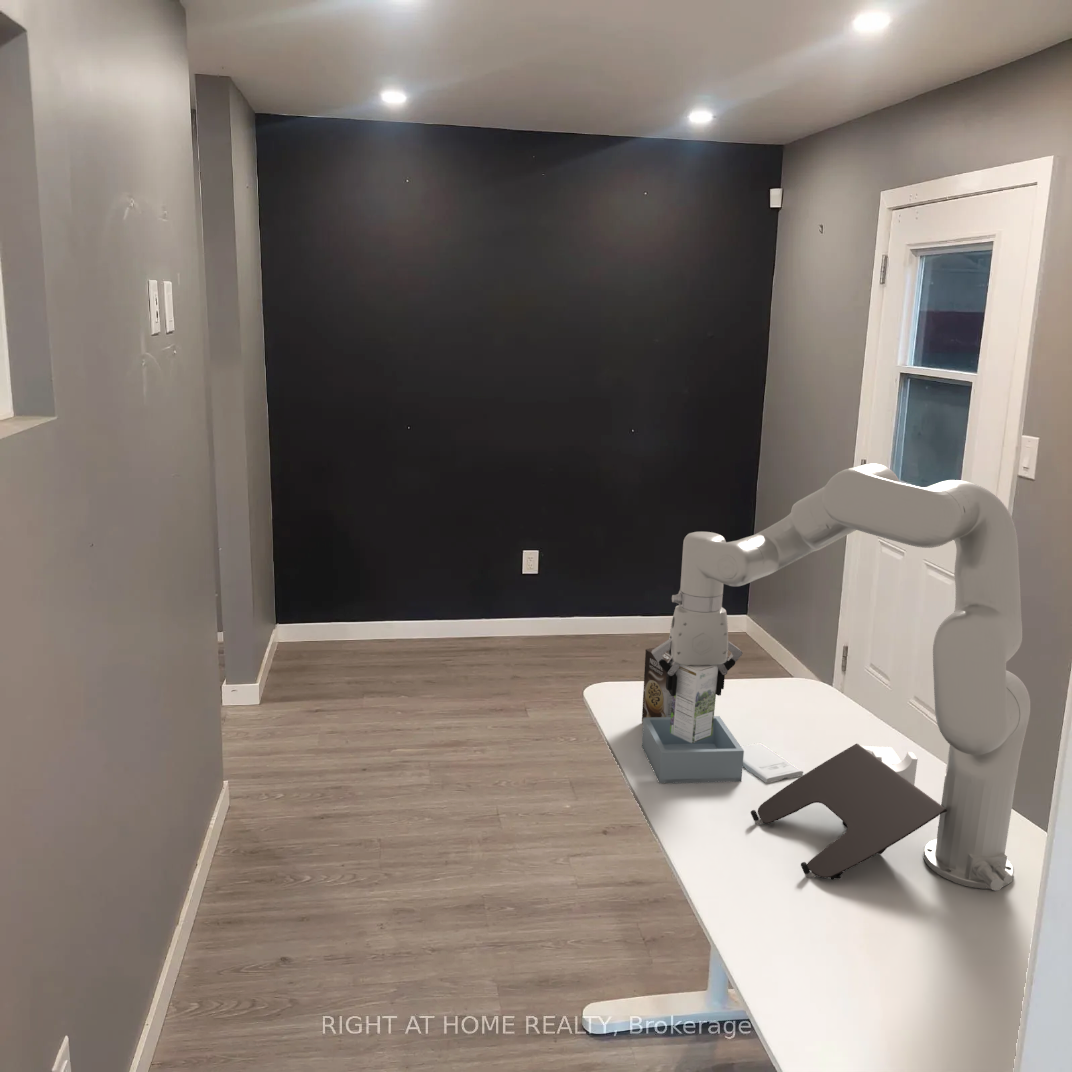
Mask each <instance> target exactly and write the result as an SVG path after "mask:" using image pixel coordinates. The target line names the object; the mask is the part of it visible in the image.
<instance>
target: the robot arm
mask: <svg viewBox="0 0 1072 1072" xmlns="http://www.w3.org/2000/svg"><path fill="white" fill-rule="evenodd" d="M1016 529H1017V528H1016V526H1015V522H1014V520H1013V517H1012V515H1011V513H1010V511H1009V509H1008V508H1007V506H1006V505H1005V504H1004V502H1003V501H1002V500H1001V499H1000V498H999V497H998V496H997V495H995V494H994V493H993V492H992V491H990V490H988V489H987V488H985V487H983V486H981V485H979V484H976V483H973V482H970V481H966V480H959V479H956V480H955V479H948V480H943V481H939V482H937V483H934V484H930V485H928V486H925V487H921V486H916V485H912V484H907V483H902V482H900V479H899V478H898V476H897V475H896V472H894V471H893V470H892V469H890V468H889V467H887V466H886V465H883V464H879V463H865V464H861V465H857V466H853V467H849V468H845V469H843V470H840V471H839V472H837V473H836V474H834V475H833V476H831V478H830V479H829V480H828V481H827V483H826V485H824V486H823V487H821V488H819V489H818V490H816V491H814V492H812V493H810V494H808V495H807V496H804V497H803V498H801V499H799V500H797V501H796V502H794V503H793V504H792V507H791V511H790V513H789V514H788V515H786V516H785V517H784V518H782V519H780V520H779V521H777V522H775V523H773V524H772V525H770V526H768V527H766V528H765V529H762V530H760V531H758V532H757V533H755V534H753V535H750V536H746V537H743V538H740V539H737V540H732V541H726V539H725V537H724V536H723V535H721V534H719V533H716V532H713V531H711V532H710V531H694V532H689V533H687V535H686V536H685V537H684V539H683V544H682V557H681V558H682V560H681V571H680V572H681V574H680V575H681V576H680V588H679V591H678V593H677V594H672V595H671V602H672V603H676V604H678V605H676V606H675V607H674V608H675V609H674V610H673V611H674V612H673V615H672V619H671V624H670V625H671V626H670V630H669V636H668V637H669V638H668V639H667V640H665V641H664V642H662V643H660V644H659V645H658V646H656V647H654V648H655V649H653V650H652V654H653V656H654V657H655V659H656V660H657V662H658V663H659V665H660V666H661V667H662V668H663V669H664V670H665V671H666V672H667V673H666V689H667V690H668V691H669V693H670V694H671V696H675V695H676V686H677V676H676V674H675V672H676V671H677V669H678V668H679V666H680V665H717V667H718V676H717V688H716V696H721V695H722V690H724V688H725V679H726V678H725V675H727V674H728V672H729V670H731V668H733V667H734V666H735V664H736V663H737V662H738V660H739V659H740V658H741V657H742V655H743V651H742V650H741V649H740V648H739V647H737V646H736V645H735V644H733V643H732V642H731V641H729V625H728V624H729V623H728V614H727V610H726V609H725V608H724V607H723V597H724V596H723V595H724V585H726V586H729V587H741V586H745V585H747V584H749V583H752V582H754V581H757V580H759V579H762V578H765V577H767V576H769V575H772V574H773V573H775V572H778V571H779V570H781V569H783V568H786V567H788V566H789V565H790V564H793V563H795V562H796V561H798V560H800V559H802V558H804V557H806V556H807V555H809V554H811V553H813V552H818V551H820V550H822V549H824V548H825V547H827V546H829V545H831V544H833V543H835V542H837V541H838V540H840V539H842V538H844V537H846V536H847V535H849V534H851V533H853V532H855V531H859V532H861V533H862V532H863V533H865V534H870V535H873V536H876V537H878V538H879V537H880V538H883V539H886V540H891V541H894V542H897V543H900V544H904V545H908V546H911V547H912V546H913V547H916V548H924V549H930V548H931V549H933V548H937V547H940V546H944V545H947V544H948V543H950V542H953V541H954V544H955V548H956V553H955V562H954V577H953V578H954V584H955V600H954V601H955V604H954V611H953V612H952V613H951V614H950V615H949V616H947V617H946V618H945V619H944V620H943V621H942V622H941V623H940V625H939V626H938V628H937V630H936V632H935V636H934V640H933V645H932V667H933V670H932V671H933V695H934V697H933V698H934V712H935V713H934V714H935V715H934V716H935V719H936V724H937V727H938V730H939V733H940V734H941V735H942V737H943V738H944V740H945V741H946V742H947V743H948V744H949V748H948V754H947V761H946V767H945V774H944V782H943V787H942V788H943V790H942V795H941V796H942V797H941V804H940V805H941V806H943V807H944V808H945V809H947V812H944V813H942V814H940V815H939V818H938V819H939V820H938V825H937V827H938V828H937V834H936V839H933V840H930V841H928V843H926V845H925V846H924V849H923V859H924V862H925V863H926V865H927V866H928V867H929V868H930V869H931V870H932V871H933V872H935V873H936V874H938V875H939V876H940V877H943V878H944V879H946V880H949V881H951V882H953V883H956V884H959V885H961V886H965V887H969V888H974V889H975V888H976V889H980V890H981V889H983V890H989V889H990V890H992V891H999V890H1001V889H1002V888H1003V887H1006V886H1007V885H1009V884H1010V883H1012V882H1013V879H1014V873H1015V869H1014V866H1013V864H1012V862H1011V861H1010V860H1009V859H1008V856H1007V854H1006V848H1007V841H1008V835H1009V829H1010V821H1011V816H1012V809H1013V803H1014V798H1015V797H1014V796H1015V789H1016V782H1017V778H1018V771H1019V764H1020V759H1021V754H1022V750H1023V746H1024V740H1025V737H1026V732H1027V729H1028V725H1029V721H1030V714H1031V698H1030V693H1029V691H1028V689H1027V687H1026V685H1025V684H1024V682H1023V681H1022V680H1021V678H1019V676H1017V675H1016V674H1014V673H1012V672H1010V671H1009V670H1007V662H1008V661H1010V660H1011V658H1013V656H1014V655H1015V654H1016V653H1017V652H1018V650H1019V649H1020V647H1021V645H1022V642H1023V623H1022V622H1023V620H1022V603H1021V600H1022V598H1021V582H1020V581H1021V579H1020V563H1019V562H1020V561H1019V541H1018V533H1017V530H1016ZM666 651H668V653H669V655H670V656H671V658H670V659H669V661H668V662H666V661H665V660H664V659H663V657H662V654H663V653H665V652H666ZM729 652H730V655H729Z"/></svg>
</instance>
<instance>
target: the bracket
mask: <svg viewBox="0 0 1072 1072" xmlns="http://www.w3.org/2000/svg"><path fill="white" fill-rule="evenodd" d="M860 746H861V747H863V748H864V749H865V750H867V751H868V752H869V753H871V754H872V755H874V756H875V757H876V758H878V759H879V760H880V761H882V762H883V763H884V764H886V765H887V766H888V767H890V768H891V769H893V770H894V771H895V772H897V773H898V774H899V775H901V776H902V777H903V778H905V779H906V780H907V781H909V782H910V783H912V784H913V785H914V786H915V781H916V773H917V765H918V761H919V760H918V758H917V756H916V754H915V753H914V752H912V751H907V752H906V755H905V757H904V759H902V760H901V758H900V757H899V755H898V754H897V752H896V751H895V750H894V749H893V747H892V746H875V745H874V746H872V745H871V746H870V745H869V746H868V745H860Z"/></svg>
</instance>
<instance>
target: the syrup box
mask: <svg viewBox="0 0 1072 1072" xmlns="http://www.w3.org/2000/svg"><path fill="white" fill-rule="evenodd" d="M675 674H676V676H677V686H676V695H675V696H672V708H671V720H670V733H671V734H673V735H675V736H677V737H679V738H681V739H683V740H686V741H688V742H690V743H695V742H697V741H700V740H702V739H705V738H708V737H710V736H712V733H713V722H714V716H715V709H716V708H715V707H716V697H717V695H716V688H717V676H718V667H717V665H680V666H679V668H678V669H677V671H676V672H675Z"/></svg>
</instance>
